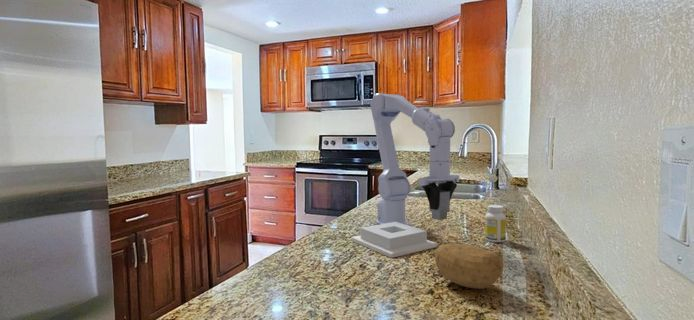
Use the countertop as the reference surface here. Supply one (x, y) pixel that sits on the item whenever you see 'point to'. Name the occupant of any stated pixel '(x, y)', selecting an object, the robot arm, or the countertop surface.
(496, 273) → the potato
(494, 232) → the supplement bottle
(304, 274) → the countertop surface
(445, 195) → the grey tall block
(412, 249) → the bracket board
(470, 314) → the countertop surface
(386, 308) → the countertop surface
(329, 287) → the countertop surface
